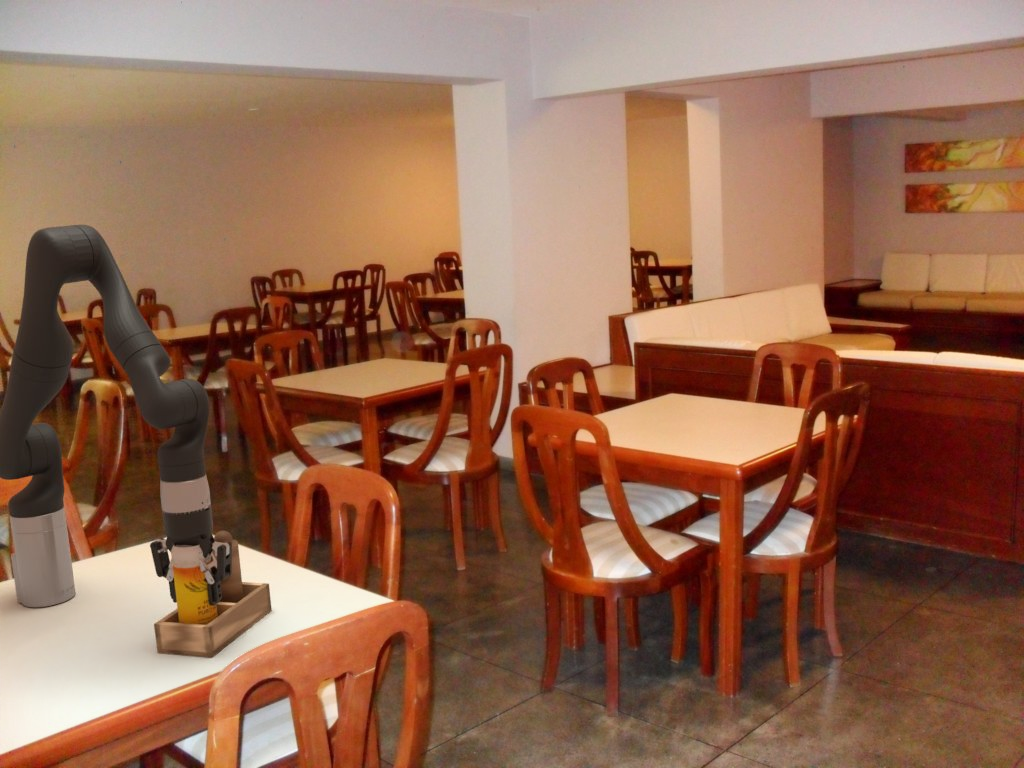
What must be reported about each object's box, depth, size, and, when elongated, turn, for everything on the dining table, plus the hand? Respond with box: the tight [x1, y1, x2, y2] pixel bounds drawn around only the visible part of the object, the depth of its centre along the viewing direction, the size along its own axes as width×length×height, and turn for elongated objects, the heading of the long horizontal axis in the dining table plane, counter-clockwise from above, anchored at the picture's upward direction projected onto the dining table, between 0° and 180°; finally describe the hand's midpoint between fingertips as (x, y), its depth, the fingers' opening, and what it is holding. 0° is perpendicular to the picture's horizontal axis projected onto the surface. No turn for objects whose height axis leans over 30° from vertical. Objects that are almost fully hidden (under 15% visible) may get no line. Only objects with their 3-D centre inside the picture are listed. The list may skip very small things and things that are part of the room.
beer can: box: [170, 543, 218, 625], centre depth 162 cm, size 6×6×15 cm
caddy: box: [153, 530, 272, 658], centre depth 167 cm, size 10×19×16 cm, turn 164°
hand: (197, 601), depth 163 cm, fingers open, 6 cm apart
